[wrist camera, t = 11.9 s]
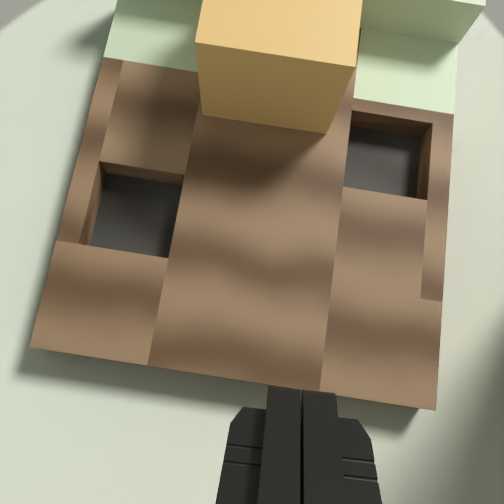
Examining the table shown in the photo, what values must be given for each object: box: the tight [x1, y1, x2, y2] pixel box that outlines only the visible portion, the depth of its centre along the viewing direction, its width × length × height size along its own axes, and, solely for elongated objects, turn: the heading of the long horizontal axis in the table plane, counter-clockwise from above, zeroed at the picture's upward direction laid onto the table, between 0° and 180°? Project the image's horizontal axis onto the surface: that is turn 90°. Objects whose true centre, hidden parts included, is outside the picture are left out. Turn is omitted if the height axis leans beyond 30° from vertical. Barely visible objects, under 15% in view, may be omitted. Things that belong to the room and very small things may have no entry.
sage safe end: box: [103, 0, 486, 114], centre depth 35 cm, size 7×26×6 cm, turn 81°
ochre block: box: [195, 0, 362, 134], centre depth 31 cm, size 9×9×8 cm
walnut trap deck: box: [29, 28, 454, 411], centre depth 35 cm, size 27×26×2 cm
